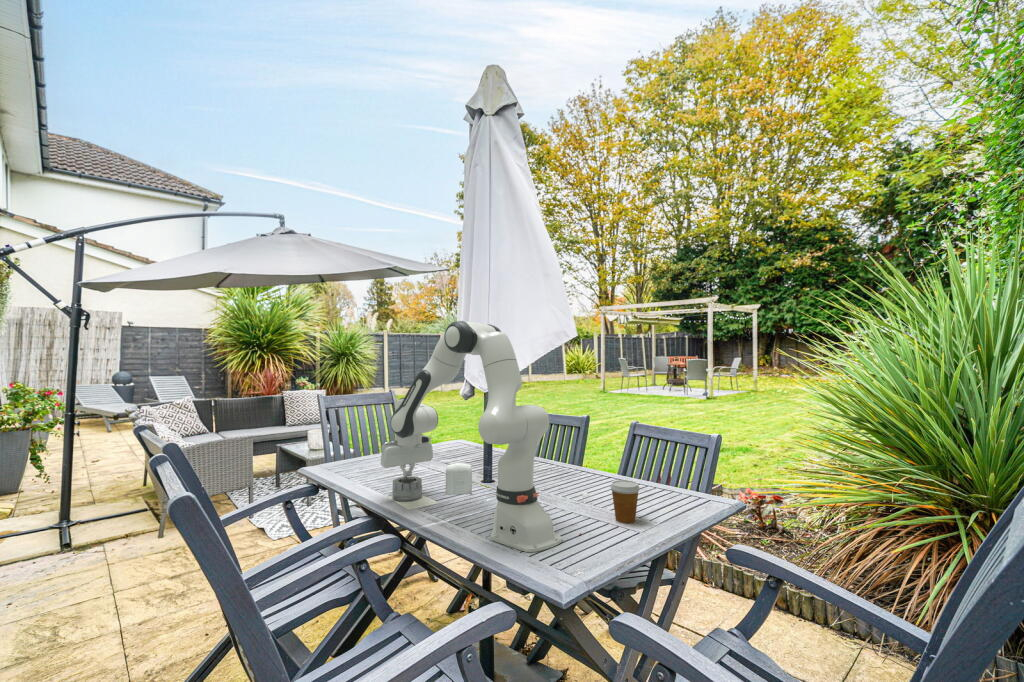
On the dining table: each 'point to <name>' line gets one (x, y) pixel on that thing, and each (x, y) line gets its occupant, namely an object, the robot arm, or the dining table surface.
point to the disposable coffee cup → (625, 500)
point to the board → (416, 502)
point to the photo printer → (459, 479)
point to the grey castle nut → (407, 490)
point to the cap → (407, 479)
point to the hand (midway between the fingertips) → (407, 476)
